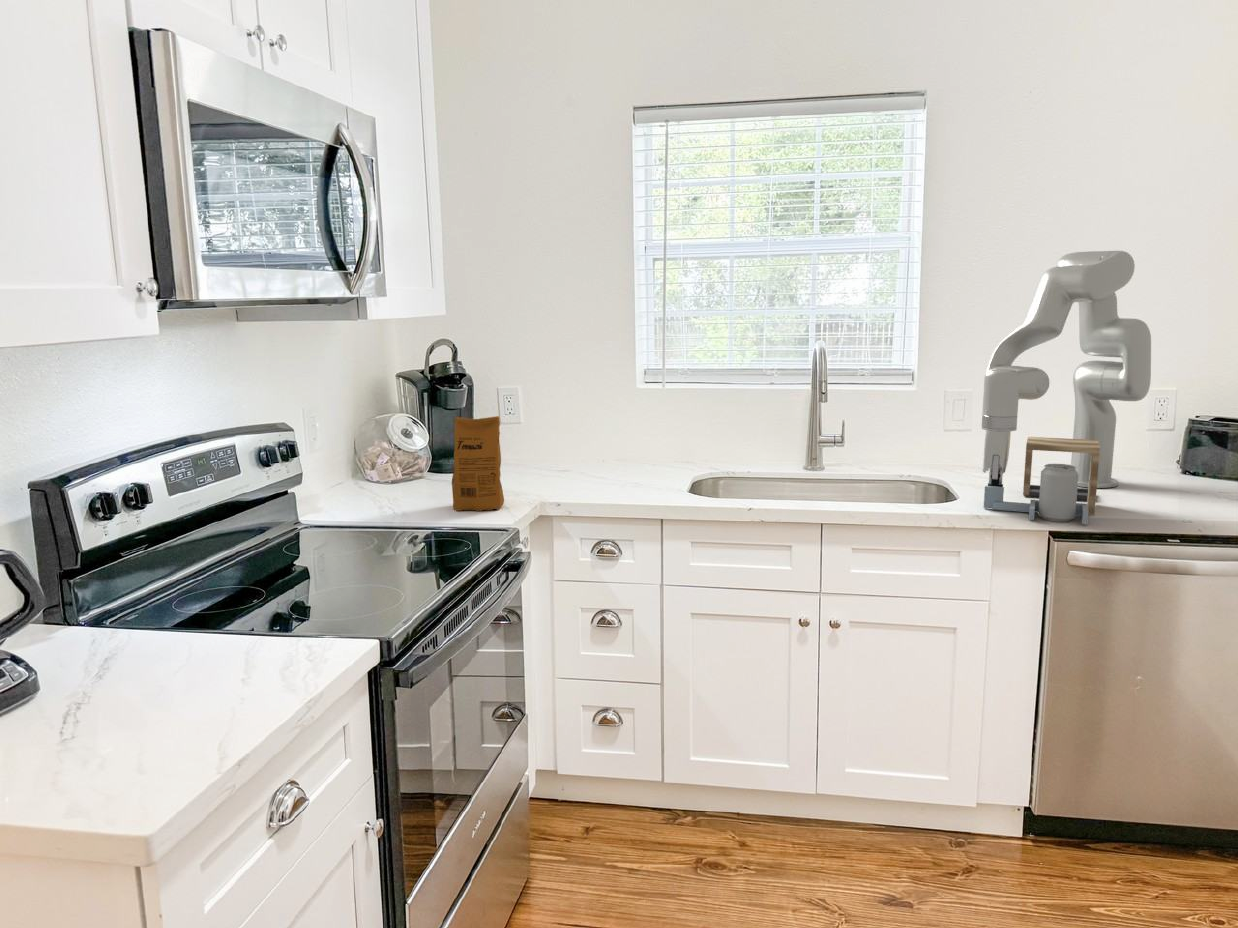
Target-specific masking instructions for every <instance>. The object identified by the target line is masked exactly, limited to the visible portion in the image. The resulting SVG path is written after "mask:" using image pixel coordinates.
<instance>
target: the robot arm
mask: <svg viewBox="0 0 1238 928" xmlns="http://www.w3.org/2000/svg"><path fill="white" fill-rule="evenodd" d="M1135 265H1136V264H1135V260H1134V258H1133V256H1132V255H1131V254H1130V253H1129V252H1127V251H1124V250H1104V251H1101V250H1097V251H1095V250H1093V251H1089V250H1088V251H1077V252H1075V251H1074V252H1070V253H1067V254H1064V255H1062V256H1061V257H1060V258H1059V260H1058V261H1057V265H1056V266H1054V267H1051V268H1048V269H1047V270H1046V271H1044V273H1043V274H1042V277H1041V278H1040V280H1039V284H1038V286H1037V289H1036V291H1035V294H1034V295H1033V300H1032V302H1031V304H1030V306H1029V310H1028V311H1027V314H1026V316H1025V320H1024V321H1023V322H1022V323H1021V324H1020V325H1019V326H1018V327H1016V329H1014V330H1013V331H1011V332H1010V333H1009V334H1008V335H1006V337H1005V338H1003V340H1002V341H1000V343H999V344H998V345H997V346H996V347H995V349H994V351H993V352H992V354H991V358H990V360H989V362H988V365H987V367H986V370H985V375H984V379H983V397H982V415H981V430H984V431H985V434H984V435H985V438H984V447H983V461H982V463H983V464H982V472H983V473H986V472H989V473H988V474H989V477H988V483H987V486H997V487H1004V484H1003V477H1004V474H1005V473H1006V471H1007V467H1008V463H1009V456H1010V444H1011V432H1014V431H1015V432H1016V431H1017V430H1018V428H1017V427H1018V411H1019V401H1020V400H1030V401H1032V400H1038V399H1040V398H1041V397H1043V396H1045V394H1046V393H1047V392H1048V390H1049V388H1050V378H1049V375H1048V373H1046V371H1044V370H1043V369H1041V368H1039V367H1033V366H1032V367H1031V366H1019V365H1013V363H1014V362H1015V360H1016V359H1017V358H1018V357H1019V356H1020V355H1021V354H1023V353H1025V351H1027V350H1029V349H1032V348H1034V347H1036V346H1038V345H1041V344H1044V343H1047V342H1049V341H1052V340H1054V339H1056V338H1058V337H1059V336H1060V335H1061V334H1062V333H1063V330H1064V327H1065V324H1066V321H1067V318H1068V317H1069V313H1070V311H1071V308H1072V306H1073V304H1074V303H1078V318H1079V319H1078V320H1079V321H1078V325H1079V329H1078V330H1079V334H1078V335H1079V336H1078V337H1079V346H1080V347H1079V348H1080V349H1081V351H1082V352H1083V354H1085V355H1088V356H1092V357H1093V356H1094V357H1103V358H1104V357H1106V358H1107V357H1108V358H1121V360H1122V361H1112V360H1111V361H1110V360H1108V361H1107V360H1088V361H1085V362H1082V363H1081V364H1079V365H1078V366H1077V367H1076V368H1075V370H1074V373H1073V377H1072V385H1073V392H1074V404H1075V405H1074V421H1073V435H1072V439H1085V440H1098V442H1099V446H1100V454H1099V466H1098V479H1097V489H1107V488H1115V487H1117V486H1118V484H1119V483H1118V482H1119V481H1118V479H1116V478H1112V475H1113V462H1114V451H1115V450H1114V449H1115V439H1116V438H1115V437H1116V425H1117V414H1116V411H1115V408H1114V407H1113V404H1112V403H1111V401H1121V402H1122V401H1123V402H1138V401H1142V400H1143V399H1144V398H1146V397H1147V395H1148V393H1149V390H1150V387H1151V378H1152V377H1151V376H1152V375H1151V374H1152V338H1151V337H1152V335H1151V331H1150V328H1149V326H1148V325H1147V323H1146V322H1145V321H1143V320H1141V319H1138V318H1121V317H1119V315H1118V297H1117V294H1116V292H1117V291H1119V290H1121V289H1122V288H1124V287H1125V286H1126V285H1127V284H1128V283H1130V281H1131V279H1132V278H1133V275H1134V272H1135V268H1136V267H1135ZM1070 460H1071V461H1070V465H1072V466H1075V467H1076V469H1075V470H1076V472H1077V473H1078V487H1079V488H1080V487H1081V488H1088V486H1089V474H1090V461H1091V453H1079V452H1071V459H1070Z"/></svg>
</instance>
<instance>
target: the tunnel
mask: <svg viewBox="0 0 1238 928" xmlns="http://www.w3.org/2000/svg"><path fill="white" fill-rule="evenodd" d="M1025 444H1026V447H1025V461H1024V475H1023V489H1022V492H1023V493H1022V495H1023V496H1024V495H1026V496H1029V490H1030V485H1031V480H1032V479H1031V477H1032V465H1033V463H1032V462H1033V451H1042V452H1043V451H1044V452H1046V451H1047V452H1062V453H1072V452H1079V453H1091V461H1090V474H1089V486H1088V487H1087V489H1088V499H1087V501H1086V504H1087V507H1088V516H1095V512H1096V503H1097V499H1096V498H1097V489H1098V488H1097V479H1098V466H1099V454H1100V446H1099V442H1098V440H1085V439H1073V438H1061V437H1041V436H1040V437H1039V436H1027V441H1026V443H1025Z"/></svg>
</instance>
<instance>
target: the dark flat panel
mask: <svg viewBox="0 0 1238 928" xmlns="http://www.w3.org/2000/svg"><path fill="white" fill-rule="evenodd" d="M1039 495H1040V484H1039V485H1037V484H1030V490H1029V496H1026V495H1023V497H1024V496H1026V497H1025V498H1034V497H1036V499H1039ZM1087 499H1088V488H1085V487H1081V488H1080V487H1077V500H1076V502H1077V501H1078V502H1079V501H1080V502H1087Z"/></svg>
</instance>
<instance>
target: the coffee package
mask: <svg viewBox="0 0 1238 928" xmlns="http://www.w3.org/2000/svg"><path fill="white" fill-rule="evenodd" d="M500 426H501V421H500V416H499V415H497V416H490V417H489V416H488V417H480V418H469V417H468V418H467V417H460V416H459V417H458V416H455V418H454V430H453V431H454V452H453V463H454V465H453V467H454V469H453V473H452V479H451V487H452V489H451V490H452V491H451V492H452V503H453V504H452V508H453V510H454V511H455V510H456V511H455V512H462V511H463V510H464V511H474V510H475V512H483V511H482V510H488V511H494V510H493V509H497V510H500V509H501V508H502V506H503V505H504V503H505V497H504V492H503V491H504V490H503V487H502V483H501V482H502V481H501V465H502V464H501V463H502V453H501V451H502V450H501V443H500V434H501V432H500ZM477 510H478V511H477ZM479 510H480V511H479Z"/></svg>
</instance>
